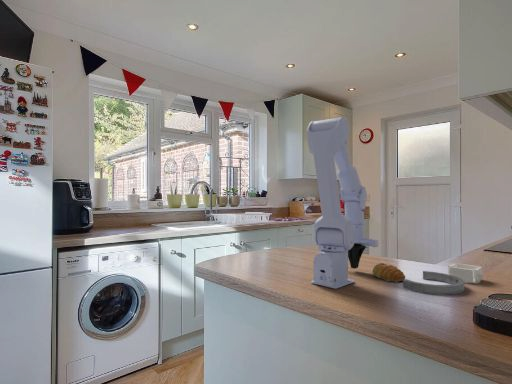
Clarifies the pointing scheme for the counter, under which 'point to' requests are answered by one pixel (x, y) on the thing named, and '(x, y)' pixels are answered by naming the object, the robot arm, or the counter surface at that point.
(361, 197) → the robot arm
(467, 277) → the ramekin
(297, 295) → the counter surface
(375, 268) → the pastry
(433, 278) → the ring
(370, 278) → the counter surface
